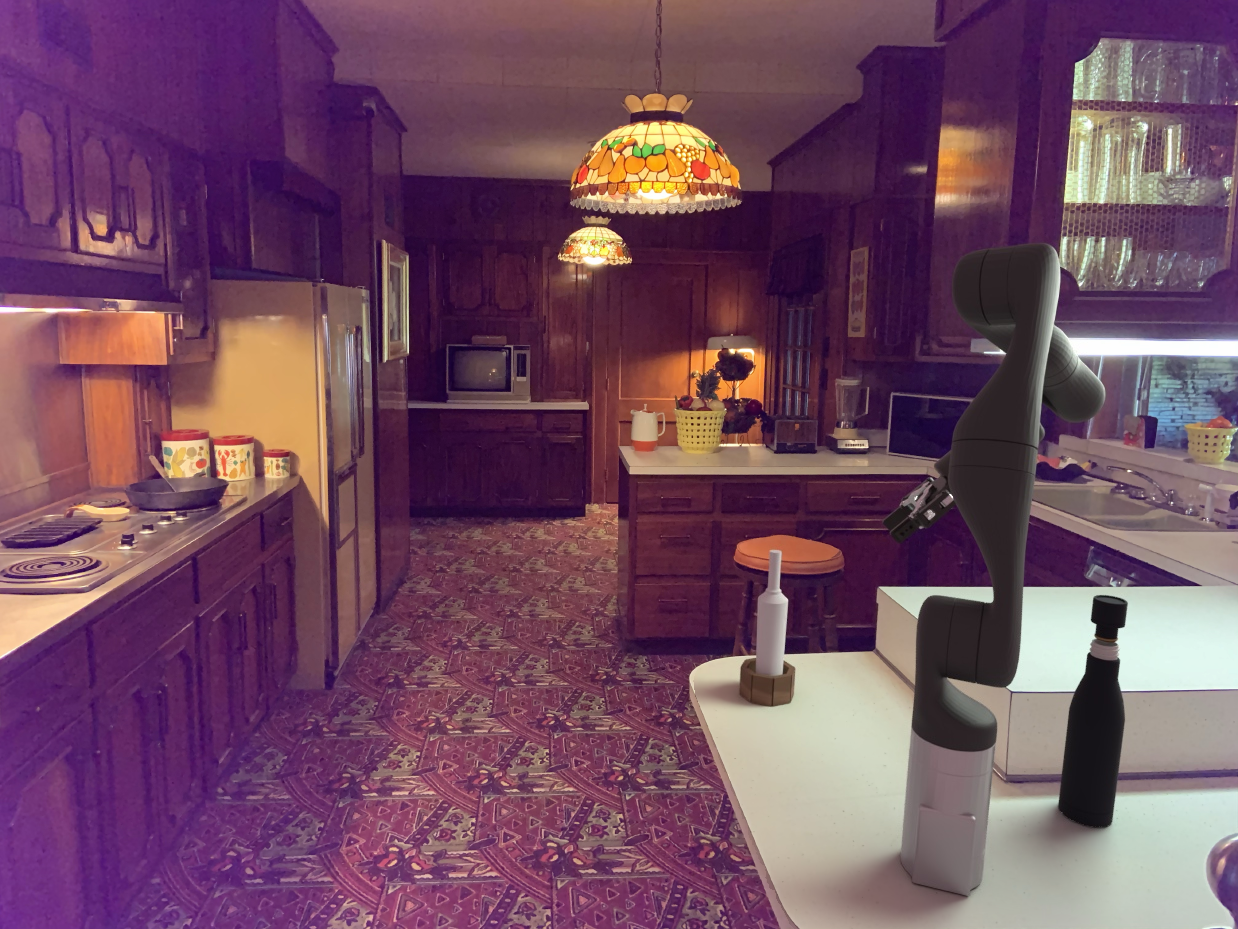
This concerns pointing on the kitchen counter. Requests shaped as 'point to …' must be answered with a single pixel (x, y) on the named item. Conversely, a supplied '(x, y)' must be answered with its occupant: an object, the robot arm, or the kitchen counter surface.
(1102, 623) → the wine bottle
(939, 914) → the kitchen counter surface
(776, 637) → the bottle
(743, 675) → the wooden cup
